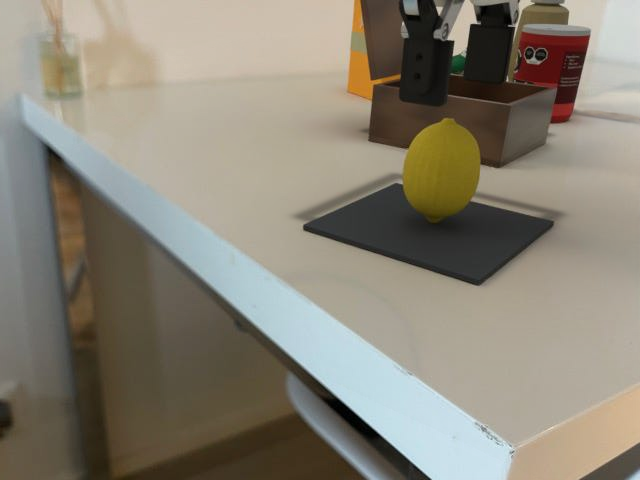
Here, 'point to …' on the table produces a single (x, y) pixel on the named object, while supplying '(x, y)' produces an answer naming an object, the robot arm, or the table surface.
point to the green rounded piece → (458, 63)
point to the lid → (383, 37)
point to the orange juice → (361, 59)
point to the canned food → (553, 62)
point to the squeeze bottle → (537, 22)
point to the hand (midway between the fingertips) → (455, 91)
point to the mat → (433, 233)
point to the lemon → (441, 170)
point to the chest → (469, 116)
